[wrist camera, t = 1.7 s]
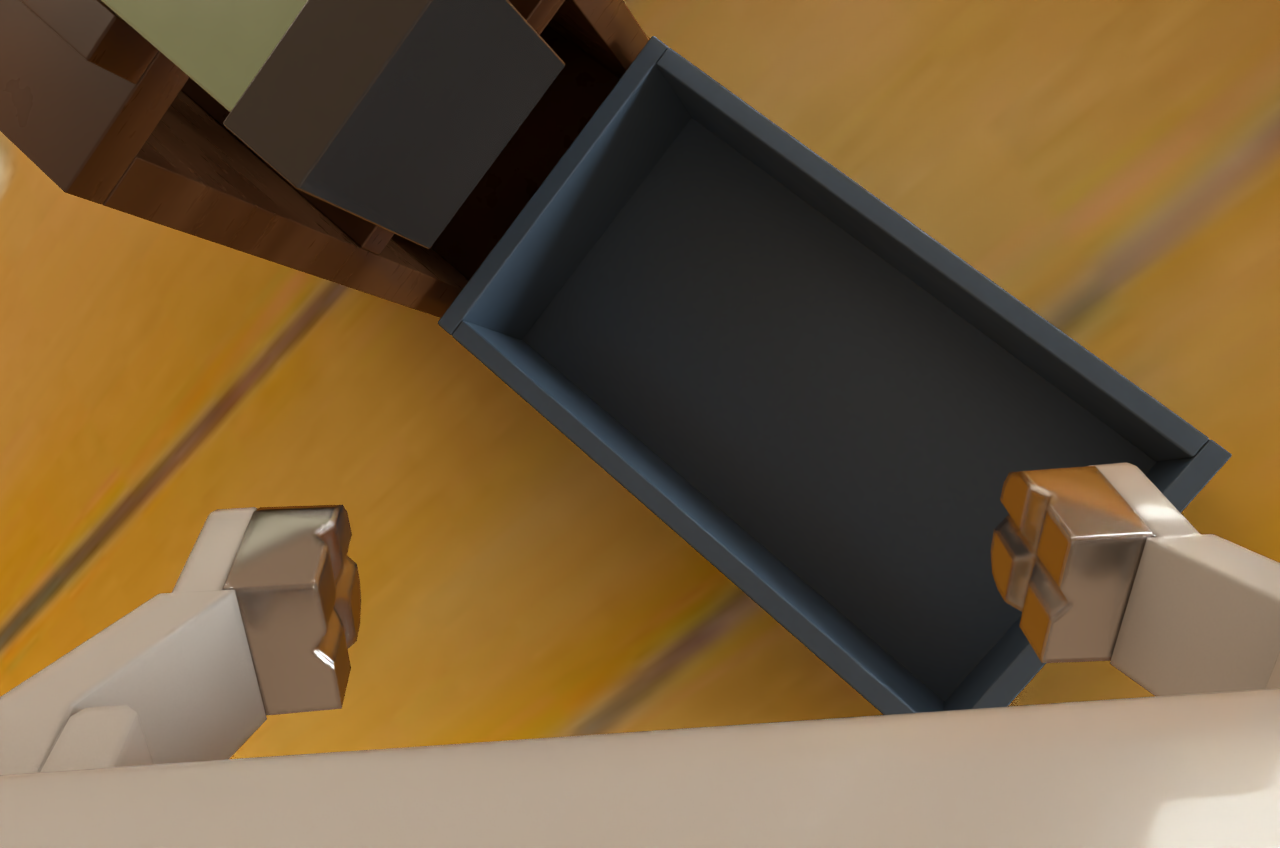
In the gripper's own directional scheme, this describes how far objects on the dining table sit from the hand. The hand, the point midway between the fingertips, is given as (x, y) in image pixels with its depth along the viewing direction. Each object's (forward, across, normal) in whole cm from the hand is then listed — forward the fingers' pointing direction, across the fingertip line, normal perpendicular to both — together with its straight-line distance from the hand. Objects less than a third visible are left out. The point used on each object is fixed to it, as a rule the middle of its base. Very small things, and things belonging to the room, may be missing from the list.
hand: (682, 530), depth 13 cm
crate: (+27, -9, +13) cm, 31 cm away
